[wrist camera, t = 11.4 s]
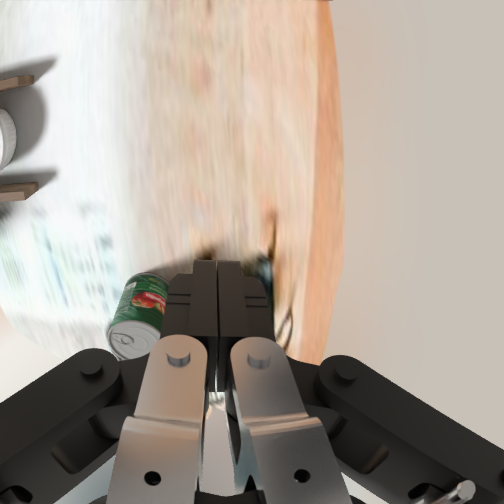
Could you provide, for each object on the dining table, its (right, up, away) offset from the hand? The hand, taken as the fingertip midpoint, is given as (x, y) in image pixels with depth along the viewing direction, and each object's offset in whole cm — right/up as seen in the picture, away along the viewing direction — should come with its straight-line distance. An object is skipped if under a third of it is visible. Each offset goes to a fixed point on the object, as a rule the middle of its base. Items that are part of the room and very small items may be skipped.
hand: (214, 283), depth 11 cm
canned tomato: (-14, -5, +37) cm, 40 cm away
